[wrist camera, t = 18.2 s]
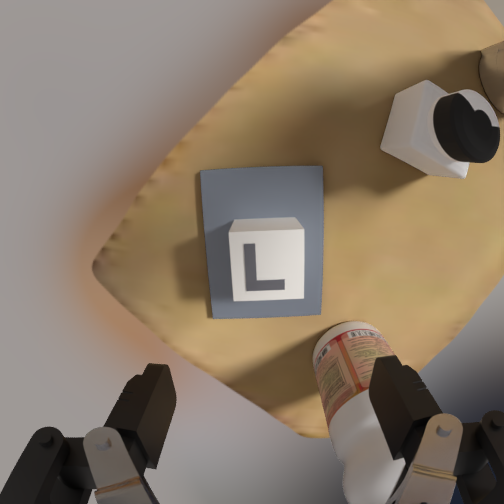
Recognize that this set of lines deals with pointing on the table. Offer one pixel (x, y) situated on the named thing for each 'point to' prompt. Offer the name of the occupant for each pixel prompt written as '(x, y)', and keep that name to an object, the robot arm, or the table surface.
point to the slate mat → (262, 206)
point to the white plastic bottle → (355, 410)
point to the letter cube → (267, 259)
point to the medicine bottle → (441, 130)
